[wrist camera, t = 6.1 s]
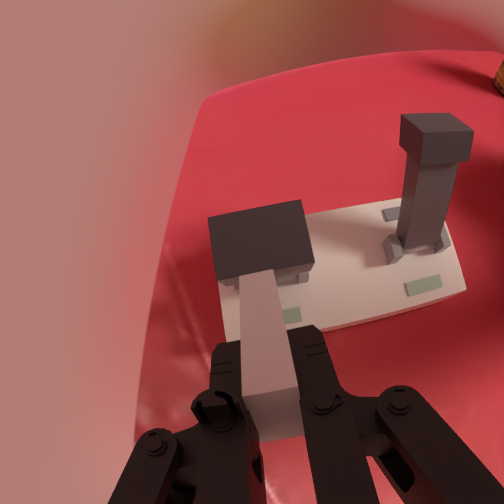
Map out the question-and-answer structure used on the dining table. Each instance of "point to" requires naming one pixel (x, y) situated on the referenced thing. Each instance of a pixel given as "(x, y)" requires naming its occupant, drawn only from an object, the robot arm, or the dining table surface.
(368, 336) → the dining table surface
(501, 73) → the sauce bottle
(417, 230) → the inner lever
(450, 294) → the switch panel
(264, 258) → the outer lever
